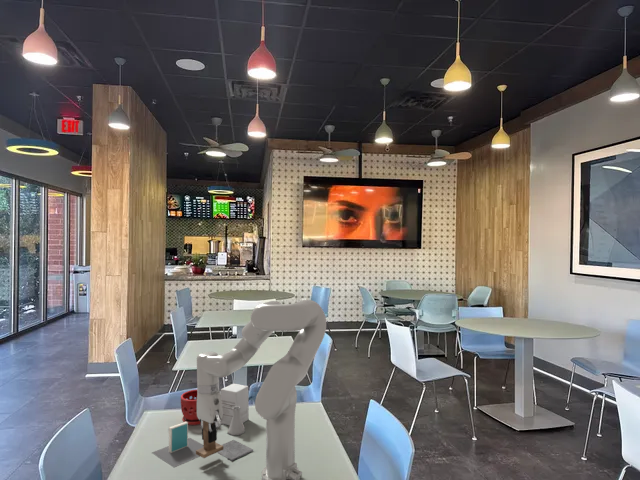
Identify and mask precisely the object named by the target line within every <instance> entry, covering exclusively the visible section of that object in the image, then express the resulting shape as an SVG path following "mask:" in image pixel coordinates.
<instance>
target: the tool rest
mask: <svg viewBox="0 0 640 480" xmlns="http://www.w3.org/2000/svg"><path fill="white" fill-rule="evenodd" d="M221 445H222V446H223V450H221V451H219V452H217V453H216V454H220V456H222V457H225V458H226V459H227V460H229V461H230V462H233V461H235V460H237V459H240V458H242V457H244V456H246V455H248V454H250V453H253V452H254V449H253V448H251V447H249V446H247V445H245V444H243V443H241V442H239V441H237V440H234V439H233V440H230V441H227V442H225V443H223V444H221Z"/></svg>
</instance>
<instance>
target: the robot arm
mask: <svg viewBox="0 0 640 480" xmlns="http://www.w3.org/2000/svg"><path fill="white" fill-rule="evenodd" d="M296 331H297V332H298V333H297V335H296V336H295V337H294V340H293V341H292V344H291V346H290V347H289V350H288V352H287V353H286V354H285V355H284V356H283V357H281V358H280V359H278V360H277V361H275V362H274V364H273V365H272V366H271V367H270V369H269V370H268V372H267V374H266V376H265V378H264V380H263V383H262V384H261V386H260V388H259V390H258V392H257V394H256V397H255V401H254V407H255V411H256V413H257V415H258V416H259V417H260V418H262V419H264V420H266V426H265V427H266V433H265V437H266V438H265V440H266V441H265V442H266V443H265V445H266V446H265V447H266V448H265V450H266V451H265V452H266V453H265V455H266V456H265V457H266V459H265V460H266V461H265V467H264V468H263V469H262V471H261V479H262V480H300V478H301V476H302V473H303V472H302V471H301V470H300V469H299V467H298V463H297V462H296V461H295V459H296V458H295V456H296V455H295V452H296V450H295V448H296V447H295V446H296V445H295V442H296V441H295V440H296V439H295V436H296V435H295V434H296V433H295V432H296V429H295V428H296V407H297V401H298V398H297V397H298V394H297V389H296V388H297V387H296V386H297V385H298V384H299V383H300V382H302V381H303V379H304V378H305V377H306V375H307V374H308V372H309V368H310V367H311V365H312V363H313V360H314V359H315V357H316V354H317V352H318V351H319V348H320V347H321V344H322V342H323V340H324V337H325V334H326V331H327V317H326V313H325V311H324V309H323V308H322V307H321V305H320V304H319V303H318V302H316V301H315V300H312V299H304V300H300V301H297V302H294V303H285V304H284V303H281V302H279V301H276V300H270V301H265V302H263V303H260V304H258V305H256V306H255V307H254V308H253V310H252V312H251V314H250V320H249V321H248V322H247V323H246V324H245V325H244V327H243V328H242V329H241V336H242V337H241V339H240V340H239V341H238V342H237V344H235V345H234V347H233V348H231V350H229V351H226V352H224V353H222V354H219V355H218V353H217V352H214V351H204V352H201V353H199V354H197V356H196V382H197V383H196V384H197V385H196V386H197V387H196V390H197V417H198V419H199V420H200V423H201V424H200V428H201V440H203V420H204V421H206V422H209V431H208V443H211V442H214V441H216V442H217V440H218V433H217V432H218V431H217V430H218V429H219V427H221V426H222V424H221V420H222V419H223V409H222V400H221V391H220V378H225V377H228V376H229V375H232V374H233V373H235V372H237V371H239V370H241V369H242V368H243V367H244V366H246V364H247V363H248V362H249V361H250V360H251V359H252V358H253V357H254V356H255V355H256V353H257V352H258V350H259V349H260V347H261V345H263V343H264V342H265V341H266V340H267V339H268V338H269V337H270V336H271V335H272V334H273V332H296ZM213 423H214V425H213V426H212V424H213Z"/></svg>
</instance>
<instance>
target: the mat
mask: <svg viewBox="0 0 640 480" xmlns="http://www.w3.org/2000/svg"><path fill="white" fill-rule="evenodd" d="M203 447H204V444H203V443H201V442H199V441H197V440H194V439H193V438H191V437H188V446H187V447H185V448H182V449H180V450H177V451H175V452H172V453H170V452H169V445H168V446H165V447H163V448H161V449H158V450H155V451H153V452H151V454H153V455H155V456H156V457H157V458H158V459H160V460H162V461H163V462H165V463H167V464H168V465H170V466H171V467H173V468H176V467H179V466H182V465H184V464H186V463H189V462H190V461H193V460H195V459H197V458H200V457H201V456H199V455H197V454H196V450H198V449H201V448H203Z"/></svg>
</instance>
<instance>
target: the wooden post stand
mask: <svg viewBox="0 0 640 480" xmlns="http://www.w3.org/2000/svg"><path fill="white" fill-rule="evenodd" d="M213 425H214V423H213V424H212V426H213ZM202 429H203V443H202V445H204V447H203V448H201V449H198V450H196V454H197V455H199V456H200V457H201V458H202V459H205V458H208V457H210V456H212V455H214V454H218V453H217V452H219V451H221V450H223V446H222V445H223V444H219V443H218V442H217V440H216V441H214V442H211V443H208V431H209V422H206V421H204V420H203V428H202Z"/></svg>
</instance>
